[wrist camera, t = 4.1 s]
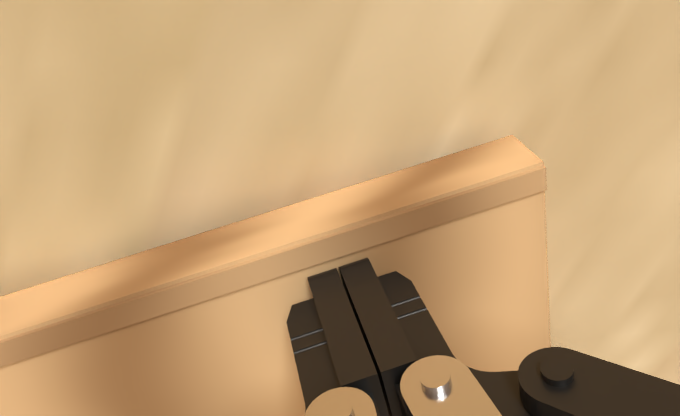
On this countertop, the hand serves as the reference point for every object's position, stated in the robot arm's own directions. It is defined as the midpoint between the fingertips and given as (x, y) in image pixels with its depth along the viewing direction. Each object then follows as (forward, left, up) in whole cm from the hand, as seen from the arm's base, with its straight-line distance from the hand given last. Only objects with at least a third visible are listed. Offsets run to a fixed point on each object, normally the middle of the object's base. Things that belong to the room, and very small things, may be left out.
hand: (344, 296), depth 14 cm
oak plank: (+5, +2, -2) cm, 6 cm away
